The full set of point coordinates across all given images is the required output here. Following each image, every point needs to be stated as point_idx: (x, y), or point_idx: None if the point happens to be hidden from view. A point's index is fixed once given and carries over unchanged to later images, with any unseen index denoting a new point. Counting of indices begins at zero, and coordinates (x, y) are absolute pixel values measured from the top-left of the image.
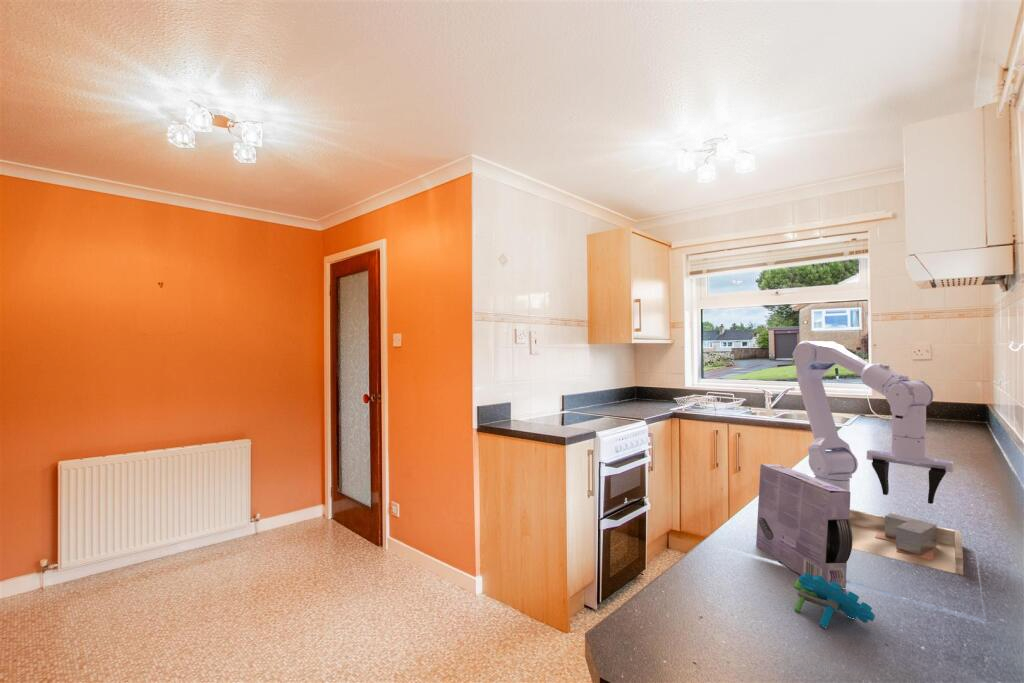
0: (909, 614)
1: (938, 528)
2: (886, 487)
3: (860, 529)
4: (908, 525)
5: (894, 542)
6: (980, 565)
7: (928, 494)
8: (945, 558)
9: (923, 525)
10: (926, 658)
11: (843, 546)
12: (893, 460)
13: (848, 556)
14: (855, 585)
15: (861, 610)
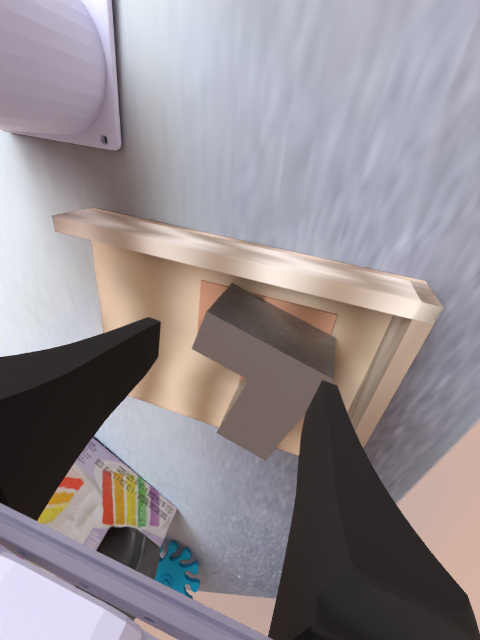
0: (235, 542)
1: (361, 306)
2: (135, 378)
3: (163, 278)
4: (246, 414)
5: None
6: (411, 394)
7: (299, 460)
8: None
9: (287, 401)
10: (239, 584)
11: None
12: (13, 549)
13: (157, 564)
14: (185, 500)
15: (187, 593)
